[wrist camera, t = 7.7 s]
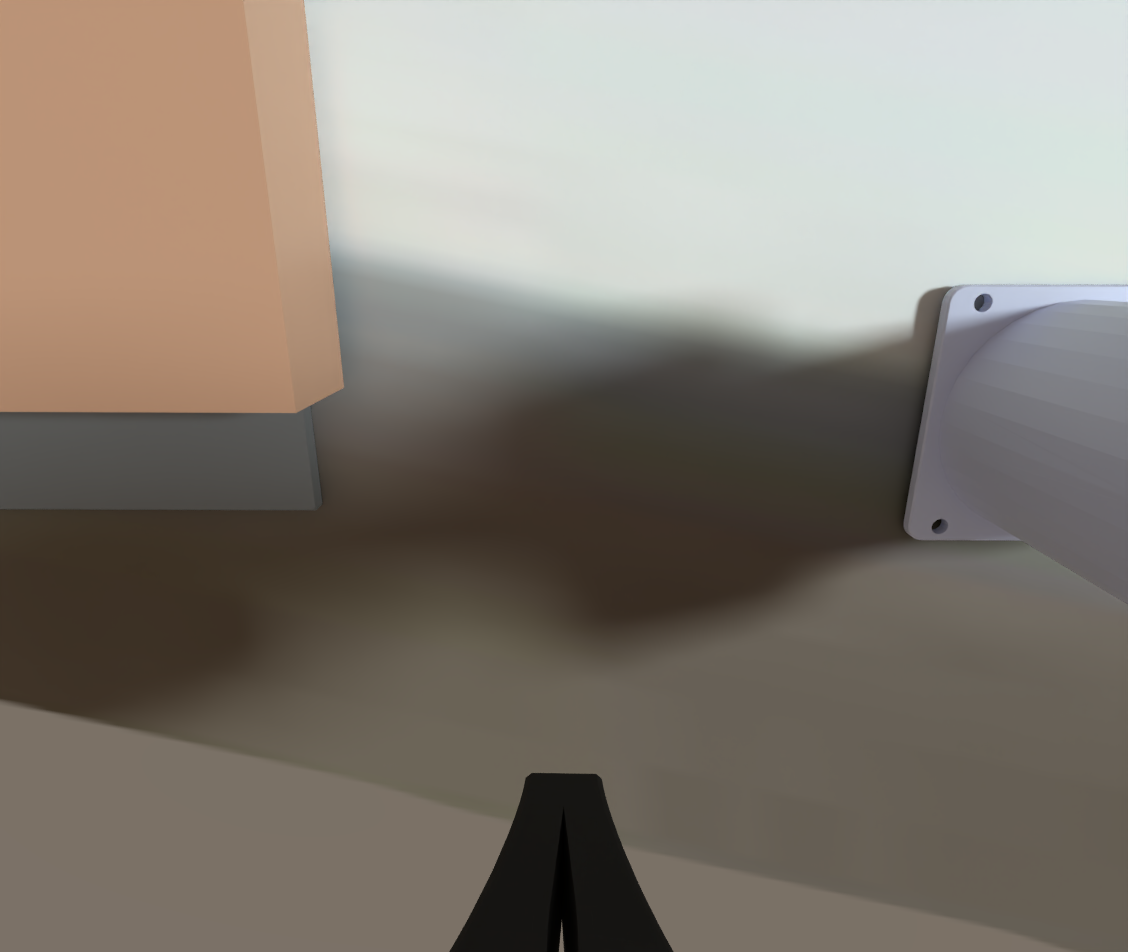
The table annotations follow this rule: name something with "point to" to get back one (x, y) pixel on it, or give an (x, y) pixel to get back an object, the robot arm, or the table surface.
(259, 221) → the terracotta block
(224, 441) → the mat
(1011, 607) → the table surface
